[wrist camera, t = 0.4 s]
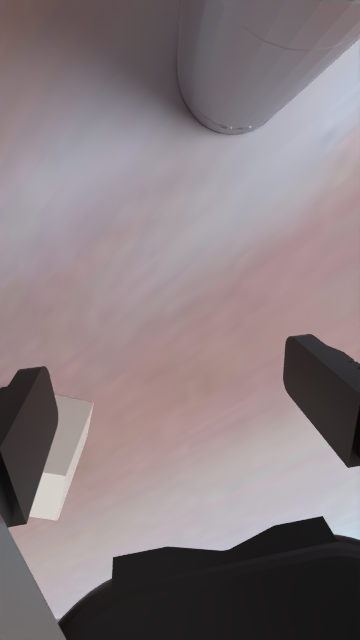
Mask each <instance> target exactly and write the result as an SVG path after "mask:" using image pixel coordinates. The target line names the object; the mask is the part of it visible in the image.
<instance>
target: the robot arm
mask: <svg viewBox="0 0 360 640" xmlns="http://www.w3.org/2000/svg"><path fill="white" fill-rule="evenodd" d="M359 39H360V0H181V11H180V25H179V37H178V53H177V76H178V83H179V87H180V90H181V94H182V97H183V99H184V101H185V103H186V105H187V106H188V108H189V110H190V111H191V113H192V114H193V115H194V116H195V117H196V119H197V120H198V121H200V122H201V123H202V124H204V125H205V126H206V127H207V128H210V129H212V130H214V131H216V132H218V133H224V134H229V135H233V134H243V133H246V132H250V131H253V130H255V129H257V128H258V127H260V126H262V125H264V124H265V123H266V122H267V121H268V120H269V119H270V118H272V117H273V116H274V115H275V114H276V113H277V112H278V111H279V110H281V109H282V108H283V107H284V106H285V105H287V104H288V103H289V102H290V101H291V100H292V99H293V98H294V97H295V96H297V95H298V94H299V93H300V92H301V91H302V90H303V89H304V88H305V87H307V86H308V85H309V84H310V83H311V82H312V81H313V80H314V79H315V78H317V77H318V76H319V75H320V74H321V73H322V72H323V71H324V70H325V69H326V68H328V67H329V66H330V65H331V64H332V63H333V62H334V61H335V60H336V59H338V58H339V57H340V56H341V55H342V54H343V53H344V52H345V51H346V50H347V49H349V48H350V47H351V46H352V45H353V44H354V43H355V42H356V41H357V40H359ZM283 381H284V386H285V389H286V391H287V393H288V394H289V396H290V397H291V398H292V399H293V401H294V402H295V403H296V404H297V406H298V407H299V408H300V409H301V410H302V412H303V413H304V414H305V415H306V417H307V418H308V419H309V420H310V422H311V423H312V424H313V425H314V426H315V428H316V429H317V430H318V431H319V433H320V434H321V435H322V436H323V438H324V439H325V440H326V441H327V443H328V444H329V445H330V446H331V447H332V449H333V450H334V451H335V452H336V454H337V455H338V456H339V457H340V459H341V460H342V461H343V462H344V463H345V465H346V466H347V467H348V468H350V467H355V466H360V364H359V363H358V362H355V361H354V359H352V358H351V357H349V356H348V355H347V354H345V353H344V352H342V351H340V350H337V349H335V348H332V347H330V346H327V345H326V344H324V343H323V342H322V341H320V340H319V339H318V338H316V337H315V336H313V335H312V334H306V335H298V336H290V337H288V338H287V340H286V344H285V358H284V372H283ZM57 426H58V408H57V403H56V399H55V395H54V391H53V387H52V383H51V379H50V375H49V372H48V370H47V368H46V367H45V366H43V367H35V368H27V369H20V370H18V371H17V373H16V374H15V376H14V377H13V379H12V381H11V382H10V384H9V385H8V387H2V388H0V640H360V540H358V539H355V538H351V537H346V536H341V535H334V534H333V533H332V531H331V529H330V528H329V526H328V524H327V523H326V521H325V519H324V518H323V516H321V517H316V518H311V519H306V520H300V521H295V522H290V523H285V524H280V525H275V526H273V527H271V528H269V529H267V530H265V531H263V532H261V533H259V534H258V535H256V536H254V537H252V538H250V539H248V540H246V541H244V542H243V543H241V544H239V545H237V546H235V547H233V548H231V549H229V550H225V551H217V550H204V549H192V548H179V547H163V548H158V549H153V550H148V551H143V552H138V553H133V554H127V555H122V556H117V557H113V570H112V579H110V580H108V581H106V582H104V583H102V584H101V585H99V586H98V587H96V588H95V589H93V590H92V591H90V592H89V593H88V594H87V595H85V596H84V597H83V598H82V599H81V600H79V601H78V602H77V603H76V604H75V605H74V606H73V607H72V608H71V609H70V610H69V611H68V612H67V613H66V614H65V615H64V616H63V617H62V618H61V620H60V621H59V622H58V623H57V621H56V619H55V617H54V615H53V613H52V612H51V610H50V608H49V606H48V604H47V602H46V600H45V598H44V596H43V594H42V593H41V591H40V589H39V587H38V585H37V583H36V581H35V579H34V577H33V575H32V573H31V572H30V570H29V568H28V566H27V564H26V562H25V560H24V558H23V556H22V554H21V553H20V551H19V549H18V547H17V545H16V543H15V541H14V539H13V537H12V535H11V534H10V532H9V530H8V527H12V526H18V525H24V524H27V521H28V517H29V514H30V511H31V508H32V505H33V502H34V499H35V495H36V492H37V489H38V486H39V483H40V480H41V477H42V474H43V470H44V467H45V464H46V461H47V458H48V455H49V452H50V448H51V445H52V442H53V439H54V436H55V433H56V430H57Z"/></svg>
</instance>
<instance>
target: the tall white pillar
mask: <svg viewBox="0 0 360 640" xmlns="http://www.w3.org/2000/svg"><path fill="white" fill-rule="evenodd" d="M55 399H56V403H57V408H58V426H57V430H56V433H55V436H54V439H53V442H52V445H51V448H50V452H49V455H48V458H47V461H46V464H45V467H44V470H43V474H42V477H41V480H40V483H39V486H38V489H37V492H36V495H35V499H34V502H33V505H32V508H31V511H30V514H29V516H30V517H37V518H44V519H50V520H57V521H58V518H59V515H60V512H61V509H62V507H63V504H64V501H65V498H66V495H67V492H68V490H69V487H70V484H71V481H72V478H73V475H74V473H75V470H76V467H77V464H78V461H79V458H80V456H81V453H82V450H83V447H84V444H85V441H86V439H87V434H88V429H89V424H90V419H91V414H92V409H93V404H94V402H89V401H84V400H79V399H74V398H69V397H64V396H58V395H55Z"/></svg>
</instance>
